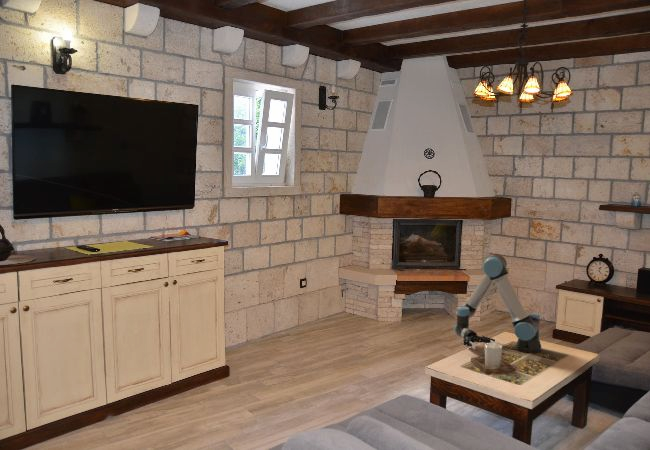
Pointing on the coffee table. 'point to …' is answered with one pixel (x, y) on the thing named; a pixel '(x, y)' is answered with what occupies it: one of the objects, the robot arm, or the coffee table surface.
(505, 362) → the walnut tray
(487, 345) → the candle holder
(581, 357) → the coffee table surface
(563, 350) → the coffee table surface
